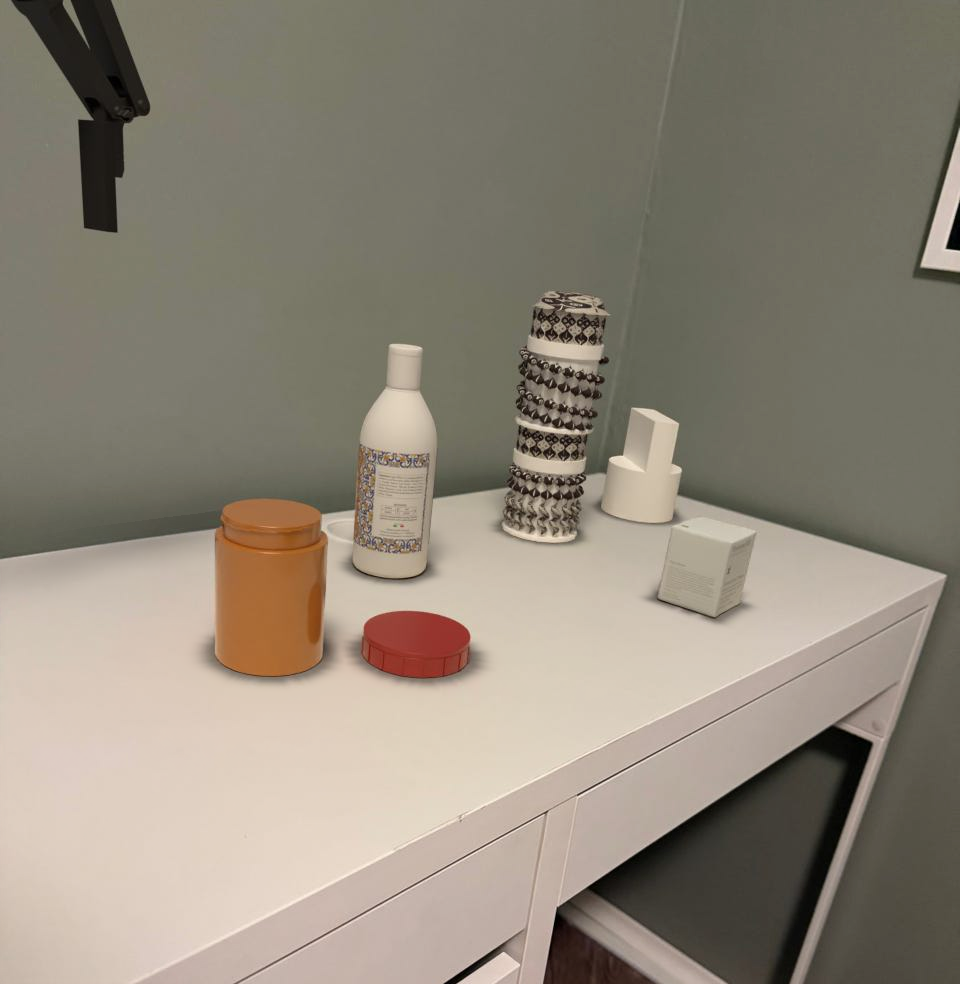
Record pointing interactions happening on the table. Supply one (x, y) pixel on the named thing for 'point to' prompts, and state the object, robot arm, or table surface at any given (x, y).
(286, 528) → the jam jar
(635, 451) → the cylinder with rectangular tab
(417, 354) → the bath foam
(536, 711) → the table surface
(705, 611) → the product box
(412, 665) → the lid
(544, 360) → the decorative candle
